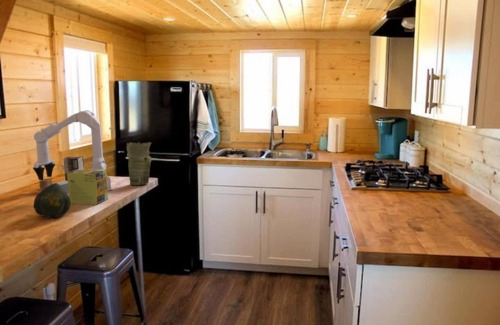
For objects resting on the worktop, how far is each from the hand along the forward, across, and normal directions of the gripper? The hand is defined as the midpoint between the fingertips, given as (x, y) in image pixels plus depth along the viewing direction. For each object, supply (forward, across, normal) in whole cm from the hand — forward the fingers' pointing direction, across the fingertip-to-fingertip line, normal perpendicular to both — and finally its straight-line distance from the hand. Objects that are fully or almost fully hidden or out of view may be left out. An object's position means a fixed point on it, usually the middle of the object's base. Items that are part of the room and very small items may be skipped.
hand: (45, 178), depth 222 cm
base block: (+8, 0, +10) cm, 13 cm away
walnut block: (+8, 0, 0) cm, 8 cm away
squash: (+8, +40, +28) cm, 49 cm away
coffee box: (+8, -18, +7) cm, 21 cm away
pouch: (+8, -24, +44) cm, 50 cm away
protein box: (+8, +16, +32) cm, 37 cm away
